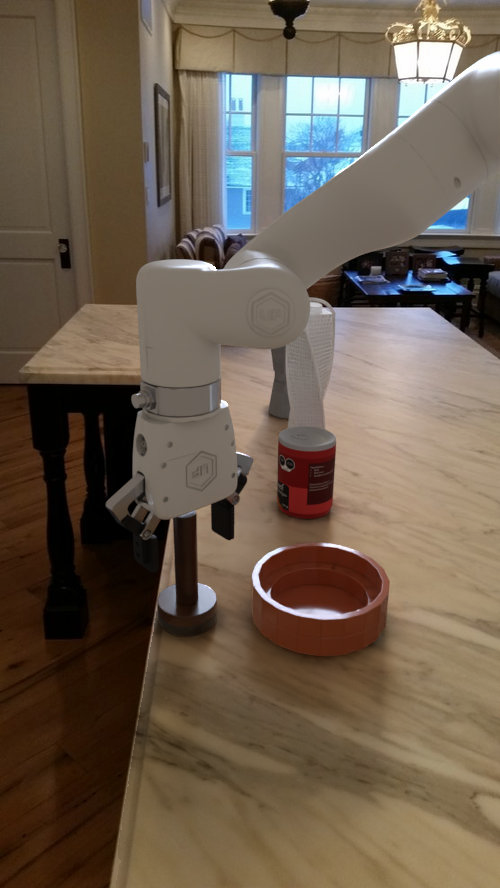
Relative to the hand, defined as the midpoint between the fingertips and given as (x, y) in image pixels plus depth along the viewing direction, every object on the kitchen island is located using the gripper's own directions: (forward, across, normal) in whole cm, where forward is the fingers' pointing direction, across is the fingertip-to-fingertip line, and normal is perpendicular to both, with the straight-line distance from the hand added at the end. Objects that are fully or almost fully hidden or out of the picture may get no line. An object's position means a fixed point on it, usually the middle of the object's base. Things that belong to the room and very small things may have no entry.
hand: (186, 550), depth 73 cm
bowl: (+8, +11, -9) cm, 16 cm away
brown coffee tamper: (+8, 0, 0) cm, 8 cm away
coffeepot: (+9, +54, +39) cm, 67 cm away
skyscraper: (+9, +37, +19) cm, 42 cm away
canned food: (+9, +28, +10) cm, 31 cm away
